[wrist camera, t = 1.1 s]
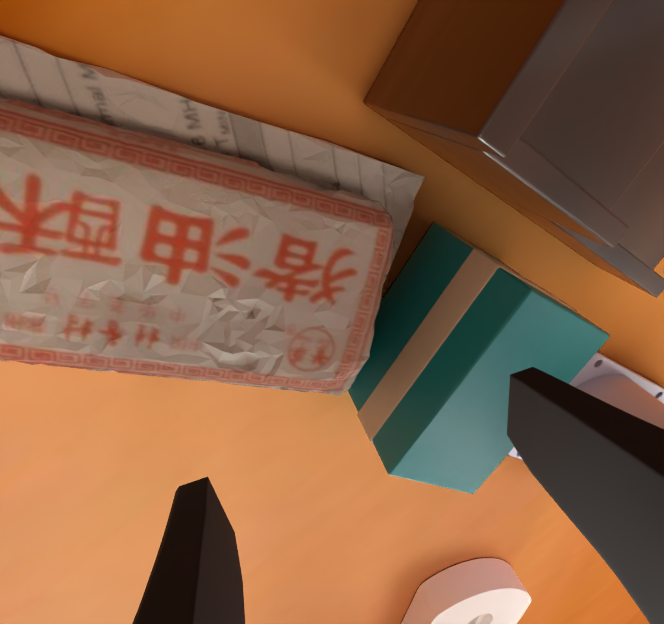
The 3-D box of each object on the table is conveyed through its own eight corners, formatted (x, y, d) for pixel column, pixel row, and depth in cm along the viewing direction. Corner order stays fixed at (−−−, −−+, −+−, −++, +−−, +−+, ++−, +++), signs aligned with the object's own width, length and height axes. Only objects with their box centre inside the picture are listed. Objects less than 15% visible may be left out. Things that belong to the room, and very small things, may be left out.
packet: (504, 262, 21) (613, 335, 16) (407, 393, 24) (474, 496, 18) (433, 219, 19) (532, 287, 14) (334, 368, 22) (386, 476, 16)
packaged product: (-304, 419, 11) (-456, -94, 7) (-171, 318, 15) (-220, -40, 11) (369, 450, 18) (483, 203, 14) (334, 375, 22) (415, 168, 18)
